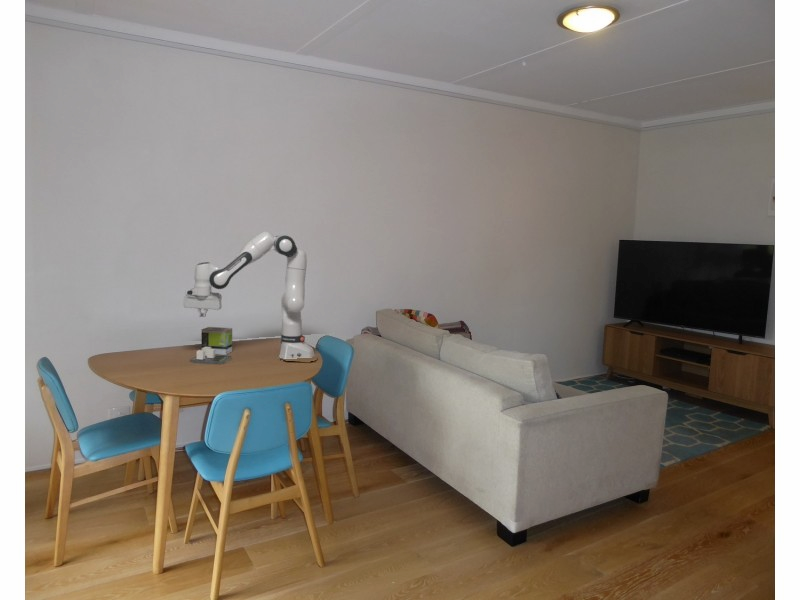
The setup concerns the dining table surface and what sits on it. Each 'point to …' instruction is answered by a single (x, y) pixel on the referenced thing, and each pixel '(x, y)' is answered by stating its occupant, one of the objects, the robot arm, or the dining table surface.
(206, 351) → the block
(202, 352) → the breaker
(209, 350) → the block
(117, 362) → the dining table surface
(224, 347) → the tea box
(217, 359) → the panel
